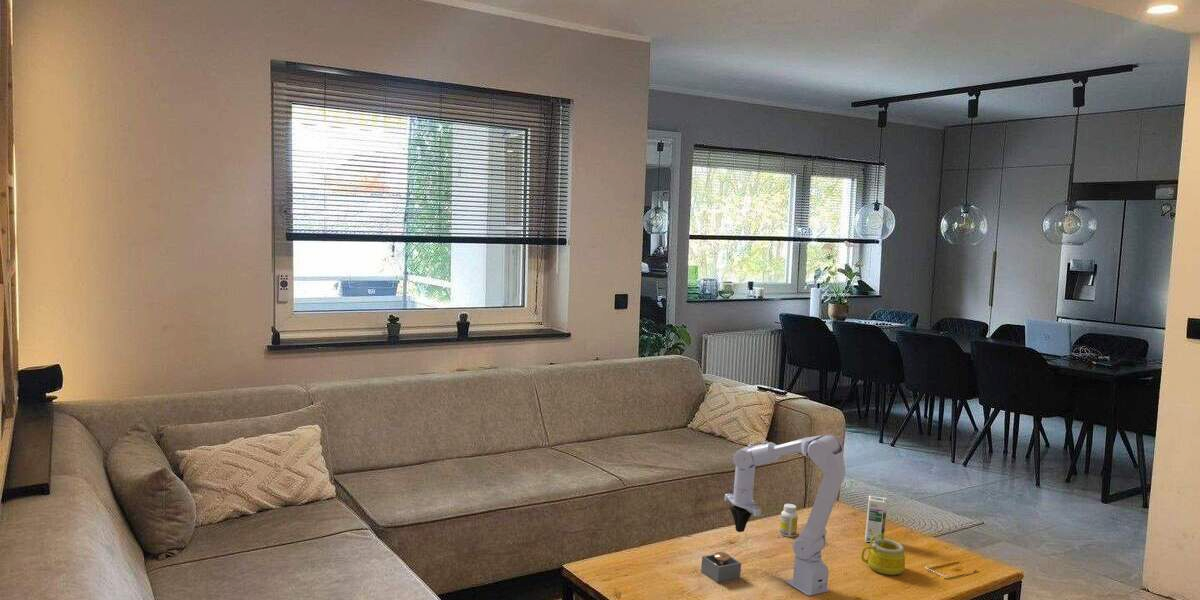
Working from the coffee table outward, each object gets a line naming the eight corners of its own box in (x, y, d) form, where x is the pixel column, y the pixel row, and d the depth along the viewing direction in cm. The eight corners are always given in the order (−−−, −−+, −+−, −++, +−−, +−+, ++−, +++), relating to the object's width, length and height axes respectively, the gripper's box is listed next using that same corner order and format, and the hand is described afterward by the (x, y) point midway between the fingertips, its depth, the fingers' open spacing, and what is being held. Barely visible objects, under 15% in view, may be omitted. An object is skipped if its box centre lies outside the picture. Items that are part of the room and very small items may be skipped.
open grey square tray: (739, 579, 244) (741, 563, 243) (717, 584, 240) (719, 567, 239) (722, 568, 251) (724, 552, 250) (700, 572, 247) (702, 556, 246)
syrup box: (864, 542, 277) (869, 499, 276) (864, 536, 283) (869, 494, 281) (883, 545, 276) (887, 502, 274) (882, 539, 281) (887, 497, 280)
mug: (902, 565, 261) (906, 528, 259) (905, 580, 250) (909, 541, 249) (859, 558, 264) (863, 521, 263) (860, 572, 254) (864, 534, 252)
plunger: (735, 574, 244) (736, 557, 244) (718, 578, 241) (720, 560, 241) (722, 566, 249) (723, 549, 249) (706, 569, 246) (707, 552, 246)
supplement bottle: (795, 531, 283) (797, 503, 282) (797, 538, 277) (799, 509, 276) (778, 530, 283) (781, 502, 282) (780, 536, 278) (782, 507, 277)
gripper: (770, 493, 248) (766, 537, 250) (738, 478, 261) (735, 520, 262) (751, 496, 245) (747, 541, 246) (720, 480, 257) (717, 523, 259)
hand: (740, 531), depth 254 cm, fingers closed
